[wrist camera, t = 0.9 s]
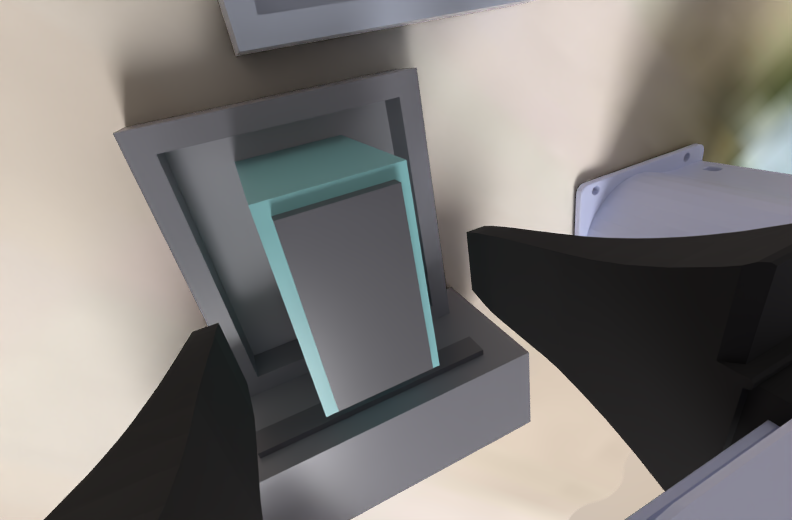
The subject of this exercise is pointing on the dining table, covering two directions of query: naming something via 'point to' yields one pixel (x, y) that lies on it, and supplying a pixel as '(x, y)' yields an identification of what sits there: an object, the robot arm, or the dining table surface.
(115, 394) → the dining table surface
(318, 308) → the teal block grey face
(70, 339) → the dining table surface
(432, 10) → the tray
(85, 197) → the dining table surface
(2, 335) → the dining table surface
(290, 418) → the bay
